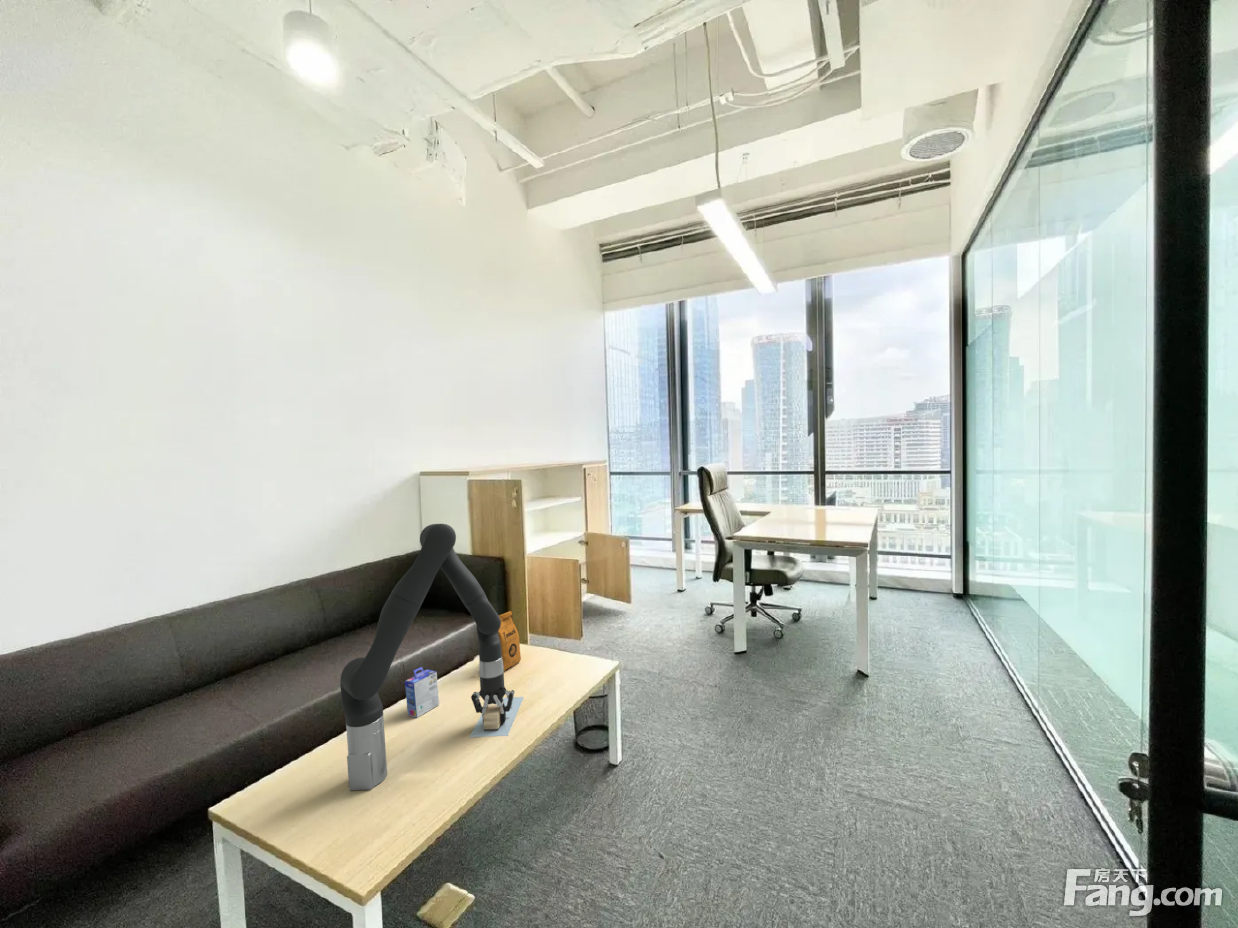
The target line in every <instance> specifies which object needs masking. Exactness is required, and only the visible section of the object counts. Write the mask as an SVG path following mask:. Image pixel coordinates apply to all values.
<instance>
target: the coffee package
mask: <svg viewBox="0 0 1238 928" xmlns="http://www.w3.org/2000/svg"><path fill="white" fill-rule="evenodd" d="M498 615H499V617H500V619H501V626H500V629H499V631H498V635H499V639H500V642H501V651H502V660H503V666H504V672H505V671H506V670H507V669H508V670H509V668H511V667H514V666H515V665H517V664H519V663H520V662H521V659H522V656H521V646H520V645H521V644H520V636H519V635H520V634H519V631H518V630H517V626H516V625H515V624H514V621H513V619H512V617H511V616H512V615H513V612H512V611H511V610H509V611H507V612H505V613H502V614H498Z"/></svg>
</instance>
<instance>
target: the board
mask: <svg viewBox="0 0 1238 928" xmlns="http://www.w3.org/2000/svg"><path fill="white" fill-rule="evenodd" d="M503 700H504V704H505V706H507V702H508V699H507V697H503ZM523 700H524V696H517V697H516V696H514V697H513V701H512V706H511V708H510V711H509V712H506V721H505V723H504V724H503V725H501V726H500V728H499V730H498V731H484V724H483V718H482V714H481V715H480V717H479V719H478V720H477V722H476V724H475V726H474V728H473V729H472V732H471V734H470V735H469V738H485V737H508V736H509V733H510V732H511V728H512V727H513V724H514V722H515V719H516V717H517V715H518V712H519V711H520V707H521V705H522V703H523ZM488 706H489V705H488Z"/></svg>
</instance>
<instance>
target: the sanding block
mask: <svg viewBox="0 0 1238 928" xmlns="http://www.w3.org/2000/svg"><path fill="white" fill-rule="evenodd" d="M500 713H501V712H500V710H499V708H498V707H497V704H489V706H488V708H487V710H486V711H485V713H484V715H483V721H484V731H498V730H499V728H500V726H501V722H500Z"/></svg>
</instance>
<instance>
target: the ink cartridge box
mask: <svg viewBox="0 0 1238 928" xmlns="http://www.w3.org/2000/svg"><path fill="white" fill-rule="evenodd" d="M418 671H419V672H418ZM437 674H438V673H437V671H436V670H432V669H425V670H424V668H423V667H422V666H420V667H418V668H416V669H413V676H412V677H409V678H408V679H406V680H405V681H404V687H405V689H404V690H405V697H406V708H407V716H410V717H413V718H415V719H417V718H419V717H421V716H422V715H424V714H426V713H427V712H429V711H431V710H433V709H434V708H436V707H438V706H439V705H440V700H439V698H440V697H439V685H438V675H437Z"/></svg>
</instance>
